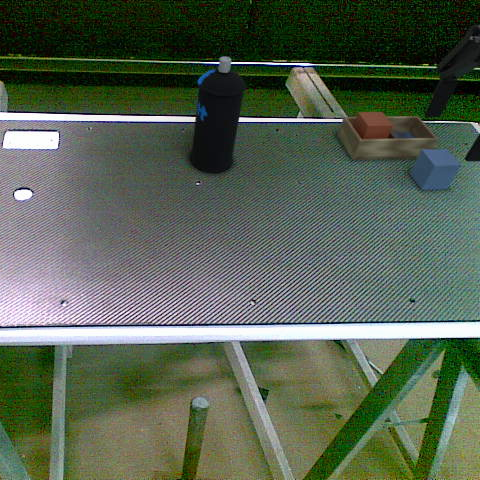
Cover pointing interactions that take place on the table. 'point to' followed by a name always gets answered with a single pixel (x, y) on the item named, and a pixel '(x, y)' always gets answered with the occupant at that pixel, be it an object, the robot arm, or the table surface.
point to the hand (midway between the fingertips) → (451, 137)
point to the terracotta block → (372, 125)
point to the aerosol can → (217, 118)
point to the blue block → (434, 169)
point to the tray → (389, 139)
